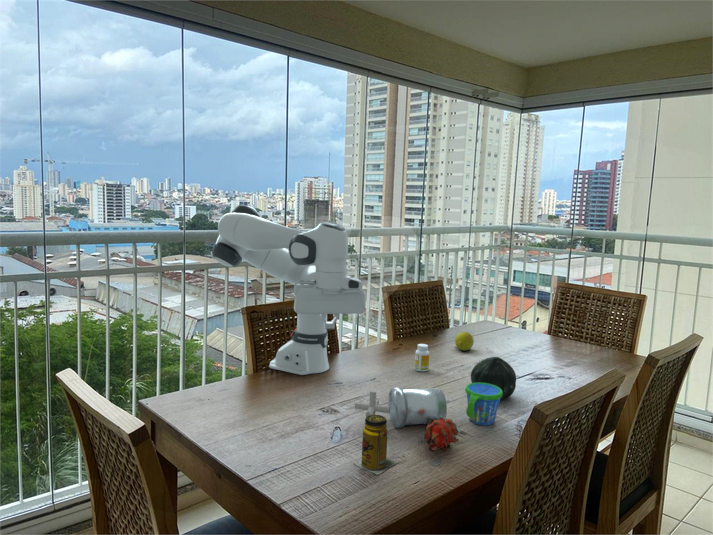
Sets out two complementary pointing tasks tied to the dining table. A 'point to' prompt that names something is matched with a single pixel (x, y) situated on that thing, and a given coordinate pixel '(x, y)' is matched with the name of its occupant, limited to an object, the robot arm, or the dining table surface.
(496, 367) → the squash
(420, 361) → the supplement bottle
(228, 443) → the dining table surface
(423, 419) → the white flanged cylinder
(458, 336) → the lemon
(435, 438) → the dragon fruit
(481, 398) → the snack cup
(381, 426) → the condiment
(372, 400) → the pipe connector
